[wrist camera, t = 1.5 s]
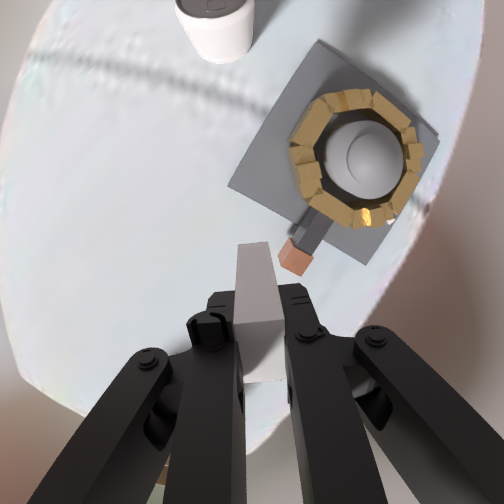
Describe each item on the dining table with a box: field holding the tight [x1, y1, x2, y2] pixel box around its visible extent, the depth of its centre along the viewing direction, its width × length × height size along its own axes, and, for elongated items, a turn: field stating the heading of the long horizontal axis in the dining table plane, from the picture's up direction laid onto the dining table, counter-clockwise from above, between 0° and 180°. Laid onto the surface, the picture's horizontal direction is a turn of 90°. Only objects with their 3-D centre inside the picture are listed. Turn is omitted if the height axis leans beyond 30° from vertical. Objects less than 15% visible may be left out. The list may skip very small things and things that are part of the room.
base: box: [228, 42, 440, 266], centre depth 26 cm, size 20×20×8 cm
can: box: [175, 0, 255, 64], centre depth 18 cm, size 6×6×12 cm
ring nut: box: [278, 89, 425, 276], centre depth 26 cm, size 21×14×4 cm, turn 151°
